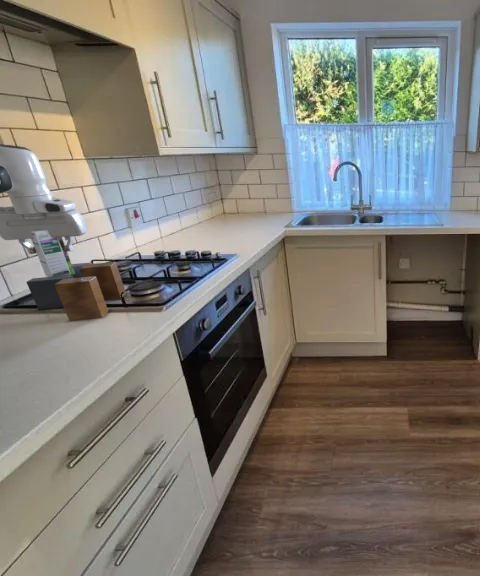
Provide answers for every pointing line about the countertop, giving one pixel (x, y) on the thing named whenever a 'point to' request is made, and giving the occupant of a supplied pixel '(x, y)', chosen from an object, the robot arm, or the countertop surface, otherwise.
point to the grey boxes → (50, 288)
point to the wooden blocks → (90, 291)
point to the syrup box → (51, 254)
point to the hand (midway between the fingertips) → (52, 252)
